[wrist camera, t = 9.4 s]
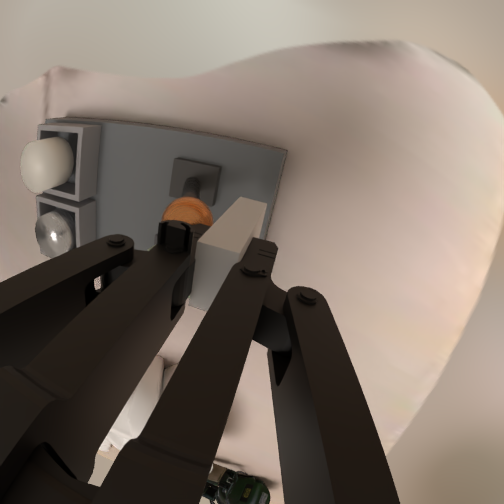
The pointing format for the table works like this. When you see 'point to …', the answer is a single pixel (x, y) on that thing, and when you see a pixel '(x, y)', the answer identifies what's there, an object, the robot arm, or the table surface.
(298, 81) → the table surface
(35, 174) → the white button
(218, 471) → the headphones
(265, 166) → the switch panel
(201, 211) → the toggle lever
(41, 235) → the metal button
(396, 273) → the table surface
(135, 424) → the white wavy slab sculpture
